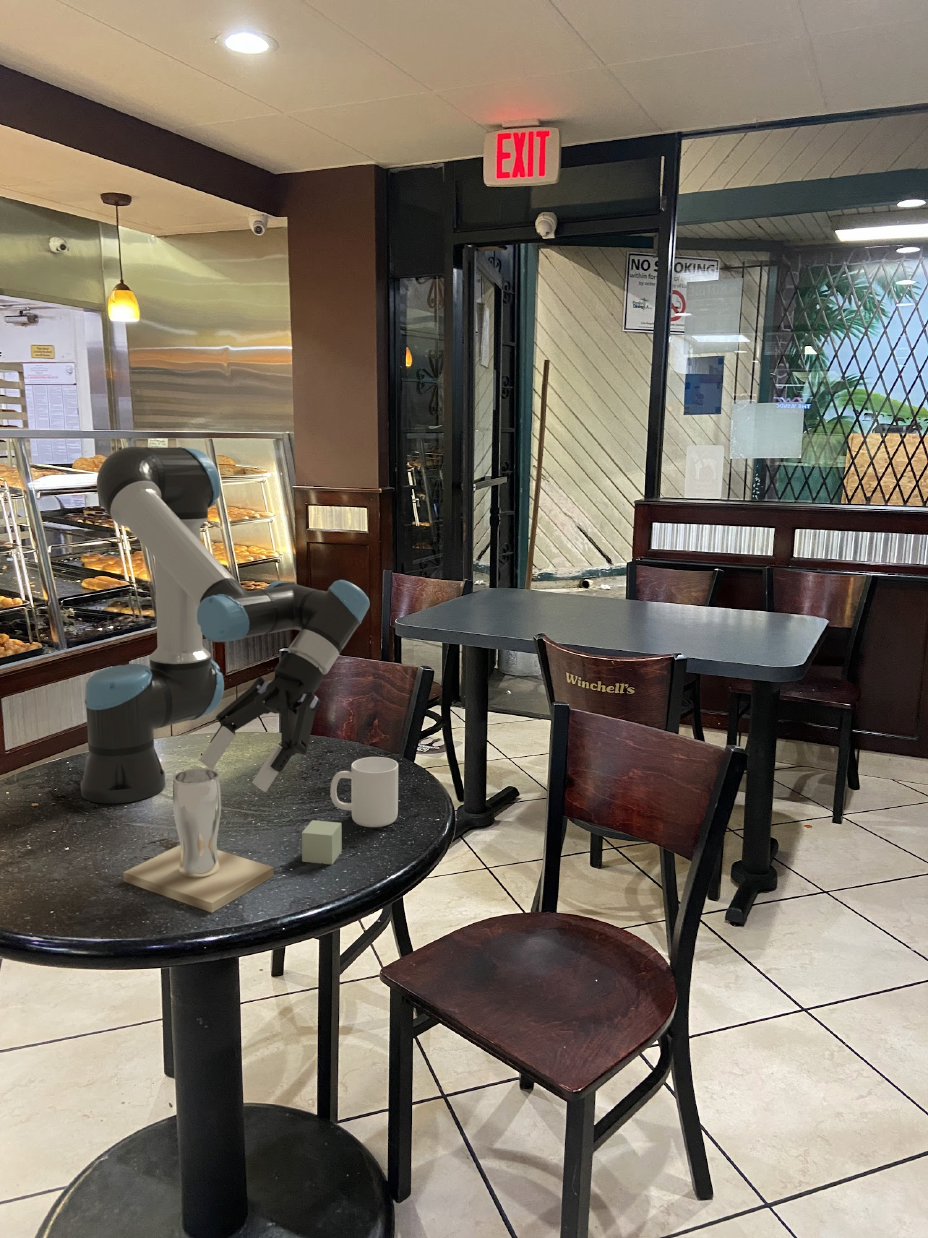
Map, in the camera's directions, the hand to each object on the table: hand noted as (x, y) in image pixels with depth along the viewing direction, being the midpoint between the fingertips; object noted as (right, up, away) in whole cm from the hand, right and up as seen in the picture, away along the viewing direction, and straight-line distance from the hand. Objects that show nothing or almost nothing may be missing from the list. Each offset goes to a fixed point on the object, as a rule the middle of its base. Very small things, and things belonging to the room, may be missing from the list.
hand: (231, 776), depth 136 cm
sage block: (+13, -14, +8) cm, 21 cm away
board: (-5, -15, -1) cm, 16 cm away
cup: (+18, -12, +23) cm, 31 cm away
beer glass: (-5, -14, -1) cm, 15 cm away
